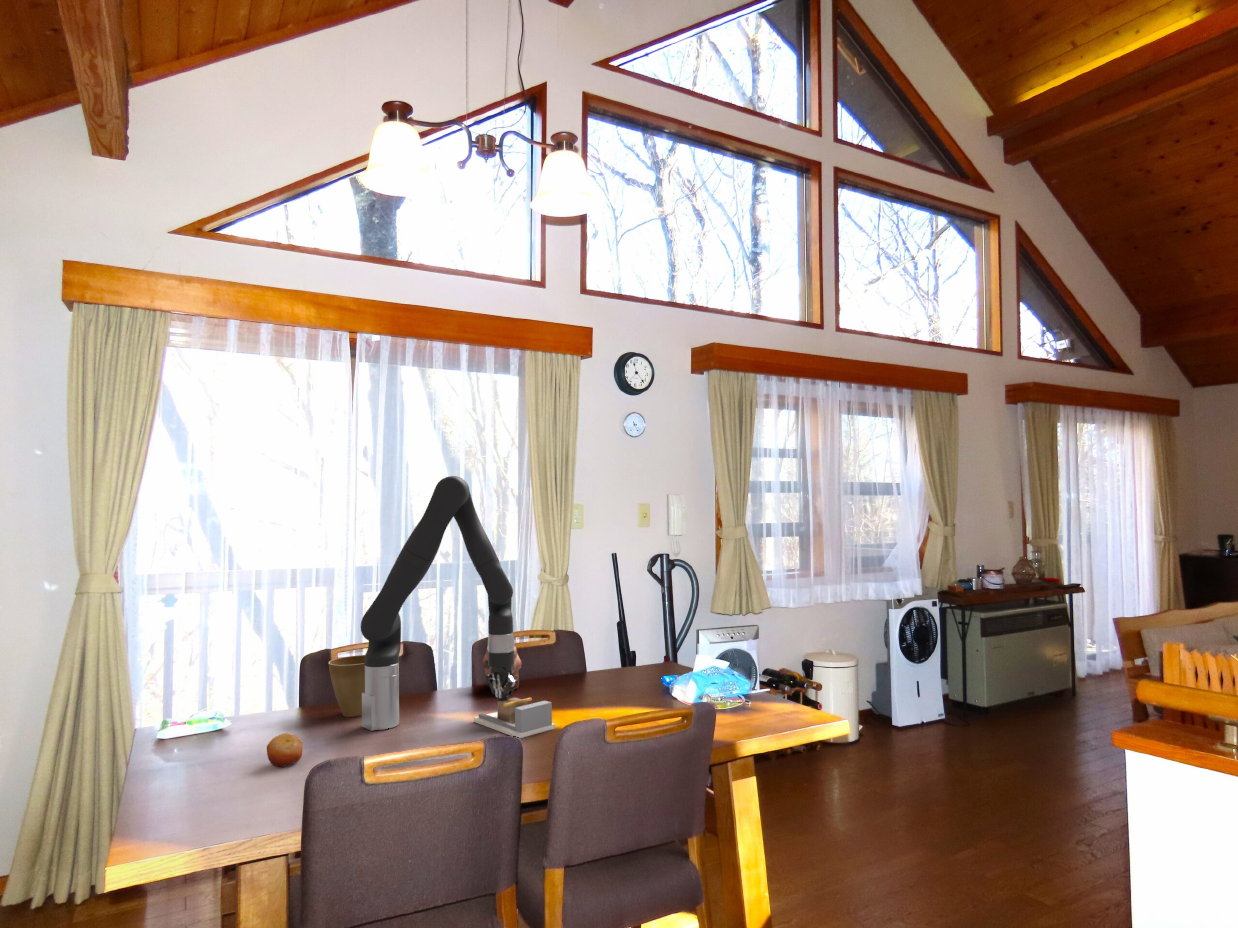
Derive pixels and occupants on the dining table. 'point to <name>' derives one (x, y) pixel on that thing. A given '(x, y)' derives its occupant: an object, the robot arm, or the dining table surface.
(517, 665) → the decorative planter
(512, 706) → the block
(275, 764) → the fruit
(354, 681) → the plant pot
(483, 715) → the base
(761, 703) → the dining table surface
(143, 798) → the dining table surface
